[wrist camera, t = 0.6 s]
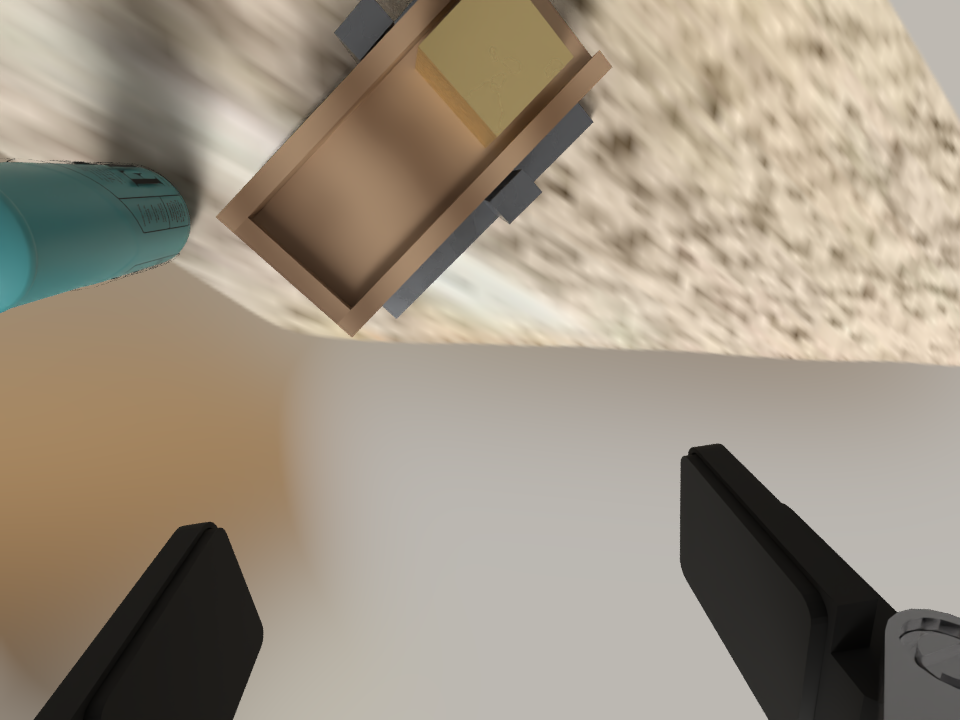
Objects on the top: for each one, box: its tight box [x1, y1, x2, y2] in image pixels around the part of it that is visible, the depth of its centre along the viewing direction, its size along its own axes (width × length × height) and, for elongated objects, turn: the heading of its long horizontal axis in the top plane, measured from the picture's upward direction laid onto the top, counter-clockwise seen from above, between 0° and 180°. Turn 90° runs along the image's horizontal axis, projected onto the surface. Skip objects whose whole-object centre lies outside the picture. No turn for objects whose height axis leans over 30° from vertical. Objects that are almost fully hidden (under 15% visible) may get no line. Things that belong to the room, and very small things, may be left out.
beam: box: [216, 0, 612, 337], centre depth 26 cm, size 19×8×3 cm, turn 134°
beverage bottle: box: [0, 159, 190, 313], centre depth 25 cm, size 6×7×20 cm
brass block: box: [415, 0, 574, 148], centre depth 24 cm, size 5×5×3 cm
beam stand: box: [334, 0, 593, 319], centre depth 30 cm, size 19×13×9 cm
